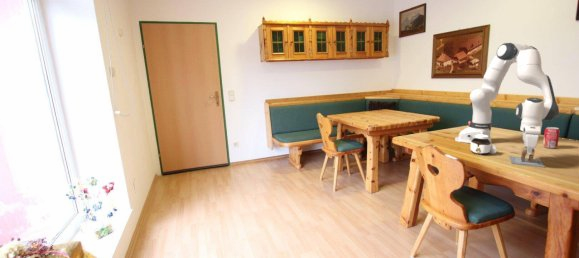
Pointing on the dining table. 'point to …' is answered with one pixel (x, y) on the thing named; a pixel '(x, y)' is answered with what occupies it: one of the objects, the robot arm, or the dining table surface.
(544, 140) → the soda can
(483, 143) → the spread jar
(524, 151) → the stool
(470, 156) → the dining table surface
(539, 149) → the dining table surface
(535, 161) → the pad
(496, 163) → the dining table surface
